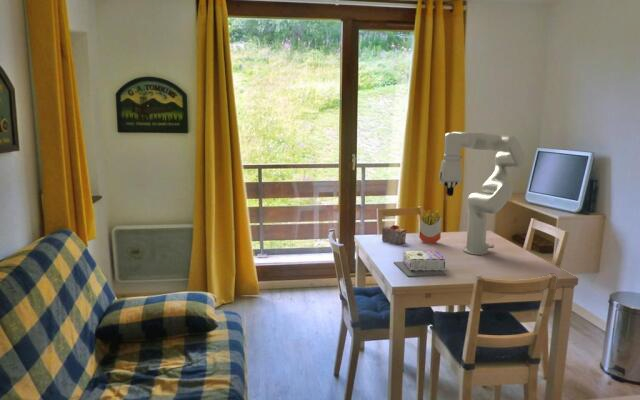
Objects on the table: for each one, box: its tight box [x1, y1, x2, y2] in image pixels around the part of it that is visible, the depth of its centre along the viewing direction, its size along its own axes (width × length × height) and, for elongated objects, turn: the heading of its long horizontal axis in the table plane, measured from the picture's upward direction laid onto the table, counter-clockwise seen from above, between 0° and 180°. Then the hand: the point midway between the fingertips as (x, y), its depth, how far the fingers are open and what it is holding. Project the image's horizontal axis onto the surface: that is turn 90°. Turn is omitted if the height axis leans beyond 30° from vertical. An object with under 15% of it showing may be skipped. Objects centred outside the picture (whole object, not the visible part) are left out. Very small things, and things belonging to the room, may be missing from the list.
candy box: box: [402, 250, 446, 272], centre depth 227 cm, size 14×6×16 cm
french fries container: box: [418, 209, 442, 245], centre depth 270 cm, size 5×11×18 cm, turn 55°
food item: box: [381, 224, 407, 245], centre depth 271 cm, size 14×8×10 cm, turn 48°
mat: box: [393, 261, 447, 278], centre depth 226 cm, size 18×20×1 cm
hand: (449, 195), depth 237 cm, fingers closed
